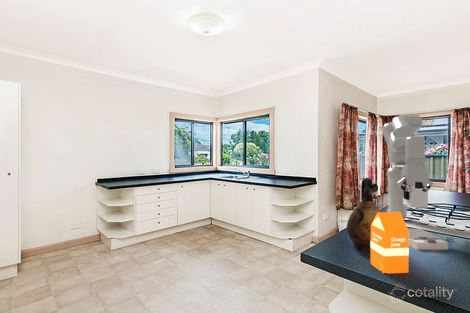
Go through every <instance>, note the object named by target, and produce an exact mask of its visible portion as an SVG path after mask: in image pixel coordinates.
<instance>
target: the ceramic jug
mask: <svg viewBox="0 0 470 313" xmlns="http://www.w3.org/2000/svg"><path fill="white" fill-rule="evenodd" d="M360 189H361V190H360V191H361V194H360V196H361V197H360V201H359V203H358V204H357V205H356V206H355V207H354V209H353V210H352V211H351V213H350V215H349V218H348V220H347V224H346V231H347V234H348V237H349V238H350V239H351V241H352V242H353V246H354V248H355V249H356V250H361V251H364V252H371V224H372V222H373V220H374V218H375V217H376V215H377V212H381V210H380V208H379V206H377V204H376V202H375V200H374V198H373V193H376V192H378V191H379V186H378V184H377V183H373V180H372V179H371V178H370V177H365V178H362V180H361V187H360Z"/></svg>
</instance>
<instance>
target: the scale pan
mask: <svg viewBox="0 0 470 313" xmlns="http://www.w3.org/2000/svg"><path fill="white" fill-rule="evenodd" d="M408 230H409V237H410V238H412V239H438V238H439V236H437V235H435V234H433V233H430V232H428V231H426V230H423V229H421V228H408Z"/></svg>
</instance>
